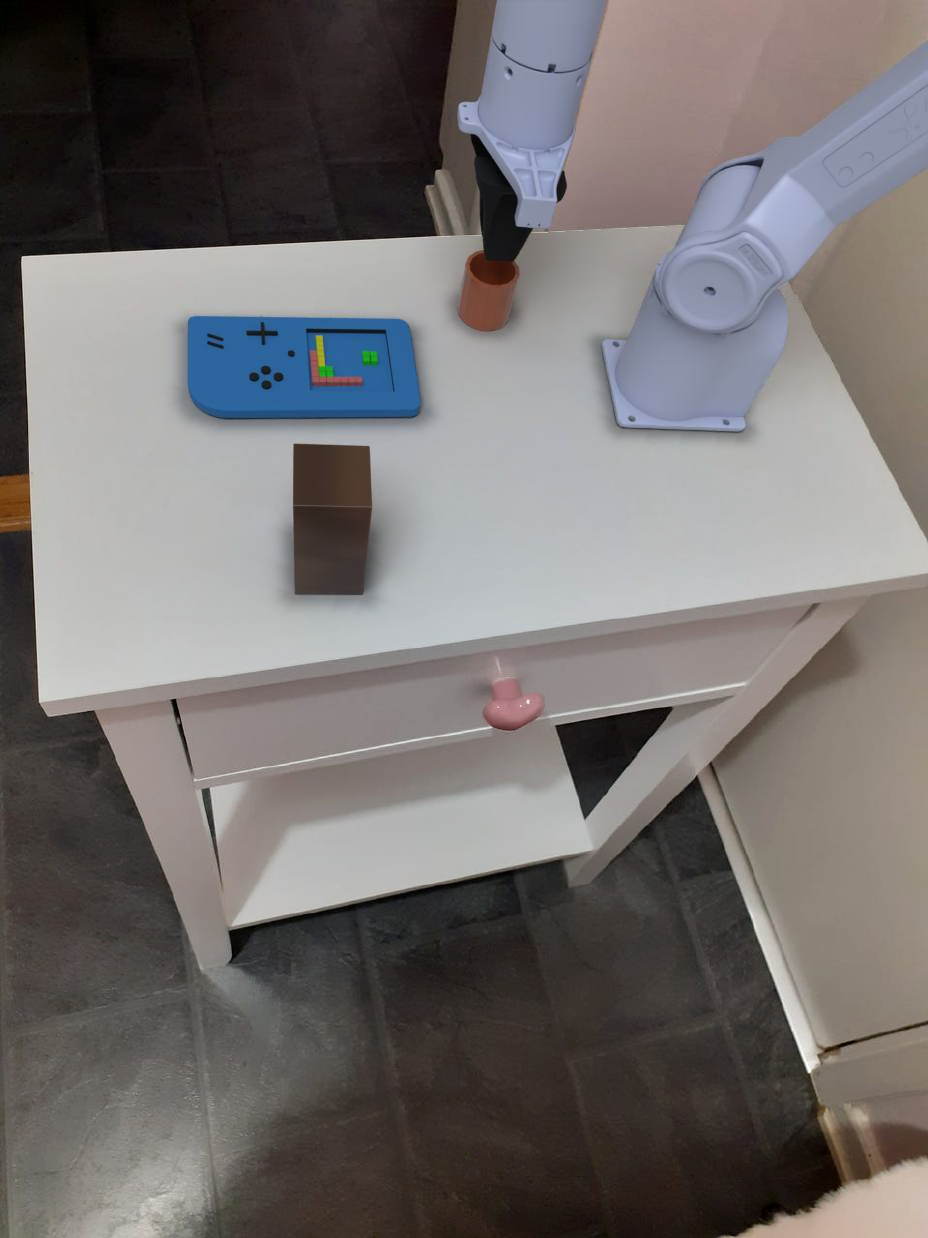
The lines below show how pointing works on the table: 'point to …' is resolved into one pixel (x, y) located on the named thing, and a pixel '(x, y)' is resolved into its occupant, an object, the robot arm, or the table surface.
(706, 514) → the table surface
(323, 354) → the handheld gaming device
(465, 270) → the pen cup
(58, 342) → the table surface
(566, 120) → the robot arm
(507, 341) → the table surface
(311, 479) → the tall brown box
